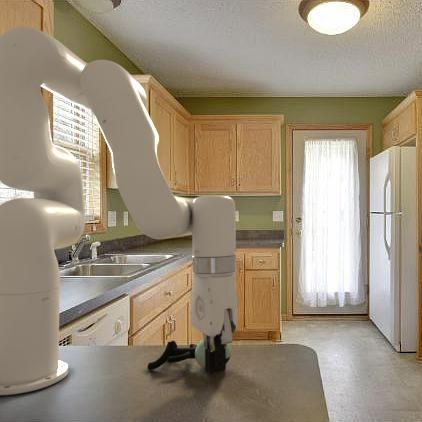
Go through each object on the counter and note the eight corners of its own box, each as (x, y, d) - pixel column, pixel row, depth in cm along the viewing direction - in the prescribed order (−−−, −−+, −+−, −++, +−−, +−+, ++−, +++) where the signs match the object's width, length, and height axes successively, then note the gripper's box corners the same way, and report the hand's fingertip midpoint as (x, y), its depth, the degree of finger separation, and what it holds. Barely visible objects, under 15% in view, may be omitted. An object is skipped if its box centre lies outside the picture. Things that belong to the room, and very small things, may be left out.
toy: (144, 377, 69) (223, 377, 67) (143, 344, 70) (221, 342, 67) (169, 360, 79) (239, 359, 76) (168, 331, 79) (237, 329, 77)
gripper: (178, 264, 71) (179, 363, 71) (213, 272, 59) (214, 392, 59) (215, 261, 76) (216, 354, 75) (254, 268, 63) (256, 379, 63)
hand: (215, 370), depth 67 cm, fingers closed
